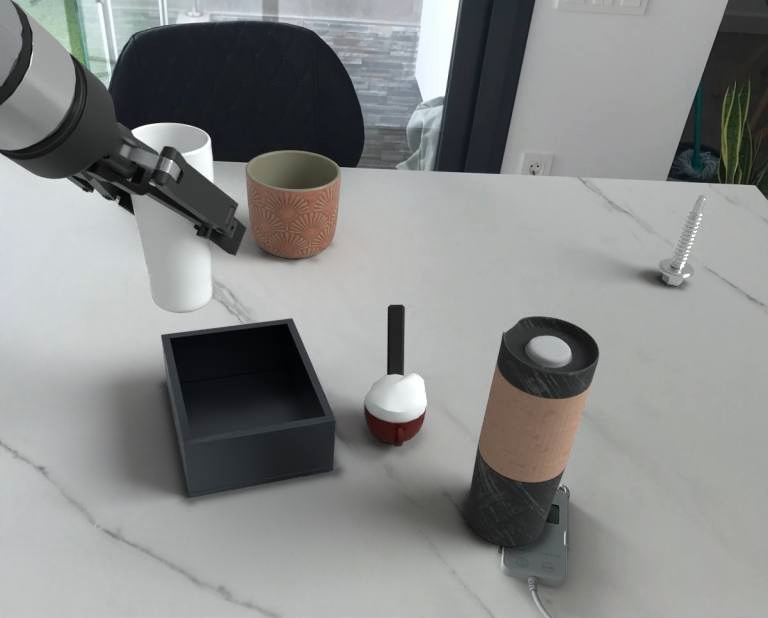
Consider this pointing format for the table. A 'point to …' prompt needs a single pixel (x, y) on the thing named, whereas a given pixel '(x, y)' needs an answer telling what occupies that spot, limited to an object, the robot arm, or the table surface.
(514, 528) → the travel mug
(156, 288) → the white cup
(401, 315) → the cocoa
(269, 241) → the planter
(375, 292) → the table surface
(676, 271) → the screw
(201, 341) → the dark storage bin
